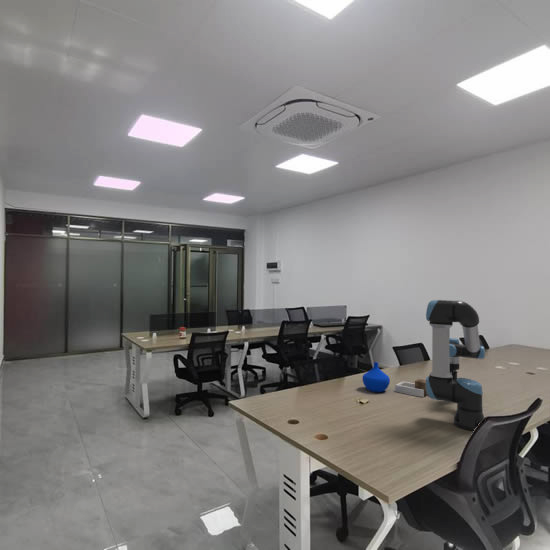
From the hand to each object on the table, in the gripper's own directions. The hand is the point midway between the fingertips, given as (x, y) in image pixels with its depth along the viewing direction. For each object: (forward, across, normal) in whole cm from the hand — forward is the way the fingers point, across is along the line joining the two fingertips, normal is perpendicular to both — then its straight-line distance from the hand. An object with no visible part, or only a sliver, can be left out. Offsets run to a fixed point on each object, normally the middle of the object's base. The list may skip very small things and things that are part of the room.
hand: (452, 399), depth 227 cm
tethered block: (+1, 0, -10) cm, 10 cm away
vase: (+1, +12, -46) cm, 48 cm away
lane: (+1, 0, -25) cm, 25 cm away
